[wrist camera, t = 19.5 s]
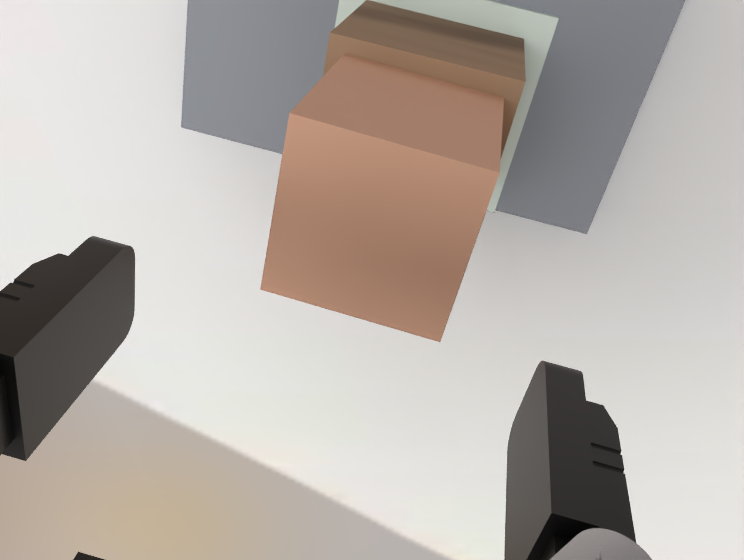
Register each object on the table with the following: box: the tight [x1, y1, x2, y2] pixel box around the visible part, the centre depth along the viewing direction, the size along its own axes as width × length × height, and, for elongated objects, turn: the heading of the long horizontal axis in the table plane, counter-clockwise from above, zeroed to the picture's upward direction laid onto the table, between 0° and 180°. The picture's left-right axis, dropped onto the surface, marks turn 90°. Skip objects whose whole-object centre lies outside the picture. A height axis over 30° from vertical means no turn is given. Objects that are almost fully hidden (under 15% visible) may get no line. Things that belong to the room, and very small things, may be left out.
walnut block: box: [323, 0, 526, 157], centre depth 25 cm, size 6×6×6 cm
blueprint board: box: [181, 0, 685, 234], centre depth 27 cm, size 12×18×1 cm, turn 79°
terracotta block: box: [261, 53, 504, 342], centre depth 20 cm, size 5×5×6 cm
